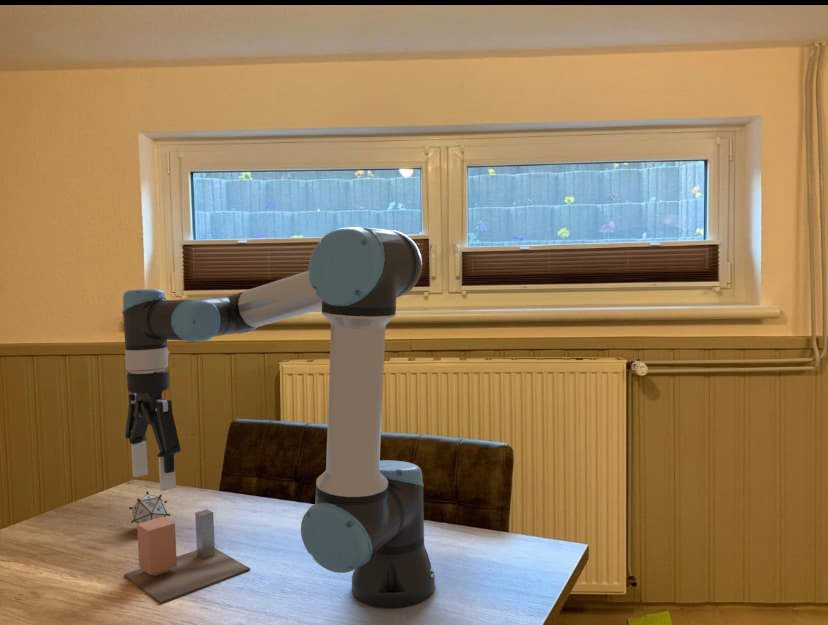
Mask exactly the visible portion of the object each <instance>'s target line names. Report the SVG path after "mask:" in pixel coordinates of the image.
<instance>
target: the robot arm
mask: <svg viewBox="0 0 828 625" xmlns="http://www.w3.org/2000/svg"><path fill="white" fill-rule="evenodd" d="M422 269H423V260H422V254H421V251H420V249H419V247H418V246H417V244H416V243H415V241H413V239H412V238H410V237H409V236H408V235H407V234H405V233H402V232H401V231H398V230H394V229H387V228H386V229H383V228H382V229H381V228H373V227H372V228H371V227H364V226H358V225H357V226H349V227H342V228H341V227H340V228H337V229H334V230H332V231H330V232H328V233H326V234H325V235H324V236H323V237H322V238H321V239H320V240H318V242H317V244H316V245H315V246H314V248H313V251H312V252H311V256H310V258H309V262H308V270H307V271H304V272H300V273H297V274H293V275H291V276H287V277H284V278H282V279H278V280H274V281H272V282H269V283H265V284H262V285H260V286H256V287H253V288H250V289H246V290H243V291H241V292H237V293H234V294H231V295H227V296H220V297H219V296H217V297H207V298H206V297H202V298H191V299H190V298H189V299H167V298H166V293H165V291H164V290H163V289H160V288H143V289H129V290H127V291H125V292H124V293H123V296H122V318H123V332H124V348H125V349H124V357H125V358H124V360H125V369H126V371H129V372H128V373H126V384H127V386H126V389H127V392H128V411H127V420H126V426H125V427H126V428H125V433H124V434H125V438H126V440H128V439H129V440H128V441H129V444H131V446H130V447H131V465H132V466H131V467H132V469H131V470H132V478H138V477H143V476H146V475H148V474H149V469H148V452H147V451H148V450H147V448H148V447H147V441H148V438H147V436H146V434H147V430H148V426H151V428H152V431H153V434H154V438H155V441H156V443H157V446H158V449H159V452H158V454H157V455H156V456H157V457H158V475H159V490H160V491H161V492H164V491H167V490H173V489H176V488H177V480H176V463H175V462H176V461H175V460H176V459H175V454H177V453H180V452H181V446H180V445H181V444H180V441H179V440H180V439H179V435H178V431H177V428H176V422H175V417H174V414H173V405H172V400H171V399H165V400H164V398H163V392H164V391H167V390H169V388H170V386H171V385H170V384H171V382H170V371H169V370H168V369H166V368H168V367H169V356H170V351H169V350H168V346H169V345H168V344H169V343H168V341H183V342H184V341H185V342H189V343H194V342H204V341H205V342H206V341H208V340H211V339H213V337H220V336H225V335H233V334H234V335H235V334H245V333H248V332H249V333H250V331H251V332H252V331H254V330H256V329H257V328H258V327H262V326H265V325H270V324H272V323H276V322H279V321H284V320H287V319H291V318H294V317H298V316H301V315H305V314H309V313H312V312H316V311H319V310H321V314H322V315H323V317H324V318H326V320H328V322H329V324H330V339H329V340H330V341H329V342H330V344H329V345H330V346H329V351H330V352H329V369H328V370H329V371H328V372H329V374H328V376H329V377H328V398H327V400H328V401H327V402H328V404H327V406H328V408H327V432H326V434H327V436H326V437H327V438H326V466H325V470H324V471H323V473H322V474H320V475H319V476H318V477H317V478H316V482H315V502H314V503H315V504H312V505H311V506H310V507H309V508H308V509H307V510H306V512H305V513H304V514H303V516H302V519H301V522H300V523H301V525H300V534H301V540H302V543H303V545H304V548H305V549H306V551H307V553H308V554H309V555H311V556H312V558H313V560H314V561H315V563H317V564H318V566H321V567H322V568H323V569H325V570H327V571H329V572H333V573H338V574H343V573H344V574H345V573H349V572H352V575H351V592H352V595H353V596H354V597H355V598H356V599H357V600H358V601H360V602H361V603H363V604H364V605H365V604H366V605H368V606H372V607H378V608H386V609H387V608H388V609H390V608H391V609H394V608H402V607H409V606H412V605H416V604H418V603H421V602H423V601H425V600H427V599H428V598H430V596H432V594H433V593H434V591H435V589H436V584H435V583H436V582H435V581H436V578H435V577H436V576H435V572H434V568H433V567H432V565H431V561H430V558H429V555H428V551H427V548H426V546H425V524H424V522H425V519H424V518H425V516H424V515H425V514H424V512H425V511H424V507H425V506H424V487H425V484H424V482H423V481H424V480H423V473H422V472H423V471H422V469H421V467H420V466H418V465H416V464H414V463H411V462H408V461H400V460H389V459H387V460H385V459H384V460H381V440H382V439H381V438H382V437H381V434H382V415H383V413H382V412H383V393H384V392H383V391H384V369H385V348H386V345H385V344H386V326H387V325H388V324H389V323H390V322H391V321H392V320H393V319H394V318H396V315H397V314H396V312H397V311H396V310H397V298H400V297H402V296H405V295H406V294H408V293H409V292H411V291H412V289H413V288H415V286H416V285H417V283H418V282H419V279H420V277H421V275H422V271H423V270H422Z"/></svg>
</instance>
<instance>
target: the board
mask: <svg viewBox="0 0 828 625" xmlns="http://www.w3.org/2000/svg"><path fill="white" fill-rule="evenodd" d="M176 556H177V566H176V567H174V568H171V569H168V572H165V573H162V574H159V575H157V576H154V575H149V574H148V573H147V572H145V571H144V570H143V569H141V568H139V569H136V570H132V571H129V572H126V573H124V575H123V576H124V577H125V578H126V579H128V580H129V581H130V582H131V583H132V584H134V585H136V587H137V588H139V589H141V591H143V592H144V593H146V594H147V595H148V596H150V598H152V599H153V600H155V601H156V602H157V603H158V604H160V605H162V604H165V603H167V602H171V601H173V600H176V599H178V598H181V597H183V596H186V595H189V594H192V593H193V592H197V591H199V590H202V589H204V588H207V587H209V586H213V585H214V584H217V583H220V582H223V581H226V580H228V579H230V578H231V579H232V578H233V577H235V576H238V575H241V574H244V573H246V572H249V571H251V567H249V566H247V565H246V564H244V563H242V562H240V561H238V560H237V559H234V558H233V557H231V556H229V555H228V554H226V553H224V552H222V551H221V550H219V549H217V548H216V547H215V555H214V556H211V557H209V558H206V559H202V558H200V557H199V556H197V549H196V550H193V551H190V552H187V553H184V554H181V555H176Z"/></svg>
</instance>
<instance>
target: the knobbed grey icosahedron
mask: <svg viewBox="0 0 828 625" xmlns="http://www.w3.org/2000/svg"><path fill="white" fill-rule="evenodd" d="M162 496H163V494H159V495H158V496H157V495H152V494H149V491H148V490H146V494H145V495H144V496H143V497H142V498H136V501H137V502H136V503H135V504H134V505H133V506H132V507H131V506H128V510H131V511H132V516H133V519H131V522H130V523H132V524H133V523H136V525H137V524H138V523H142V522H145V521H149V520H152V519H156V518H159V517H165V518H167V517H170V516H171V513H168V512H167V511H168V510H167V507H166V504H167V503H168V500H163V499H162Z"/></svg>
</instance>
